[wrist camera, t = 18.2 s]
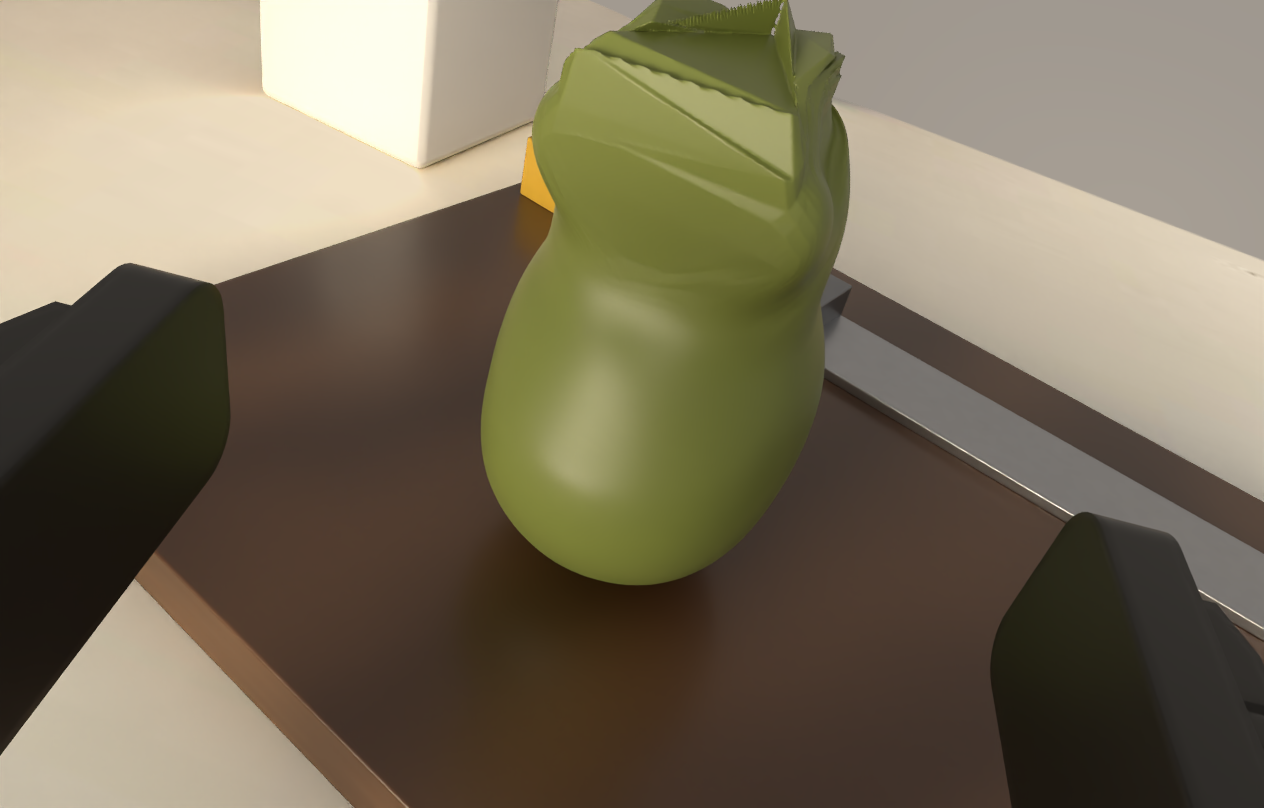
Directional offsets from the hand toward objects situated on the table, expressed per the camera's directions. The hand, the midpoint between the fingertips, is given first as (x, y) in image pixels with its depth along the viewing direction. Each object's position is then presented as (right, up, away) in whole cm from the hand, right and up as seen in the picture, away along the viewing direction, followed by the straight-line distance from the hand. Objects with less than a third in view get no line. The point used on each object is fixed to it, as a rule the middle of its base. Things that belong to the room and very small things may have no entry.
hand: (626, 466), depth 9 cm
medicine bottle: (-8, +11, +26) cm, 30 cm away
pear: (0, -2, +10) cm, 10 cm away
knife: (+6, +1, +16) cm, 17 cm away
